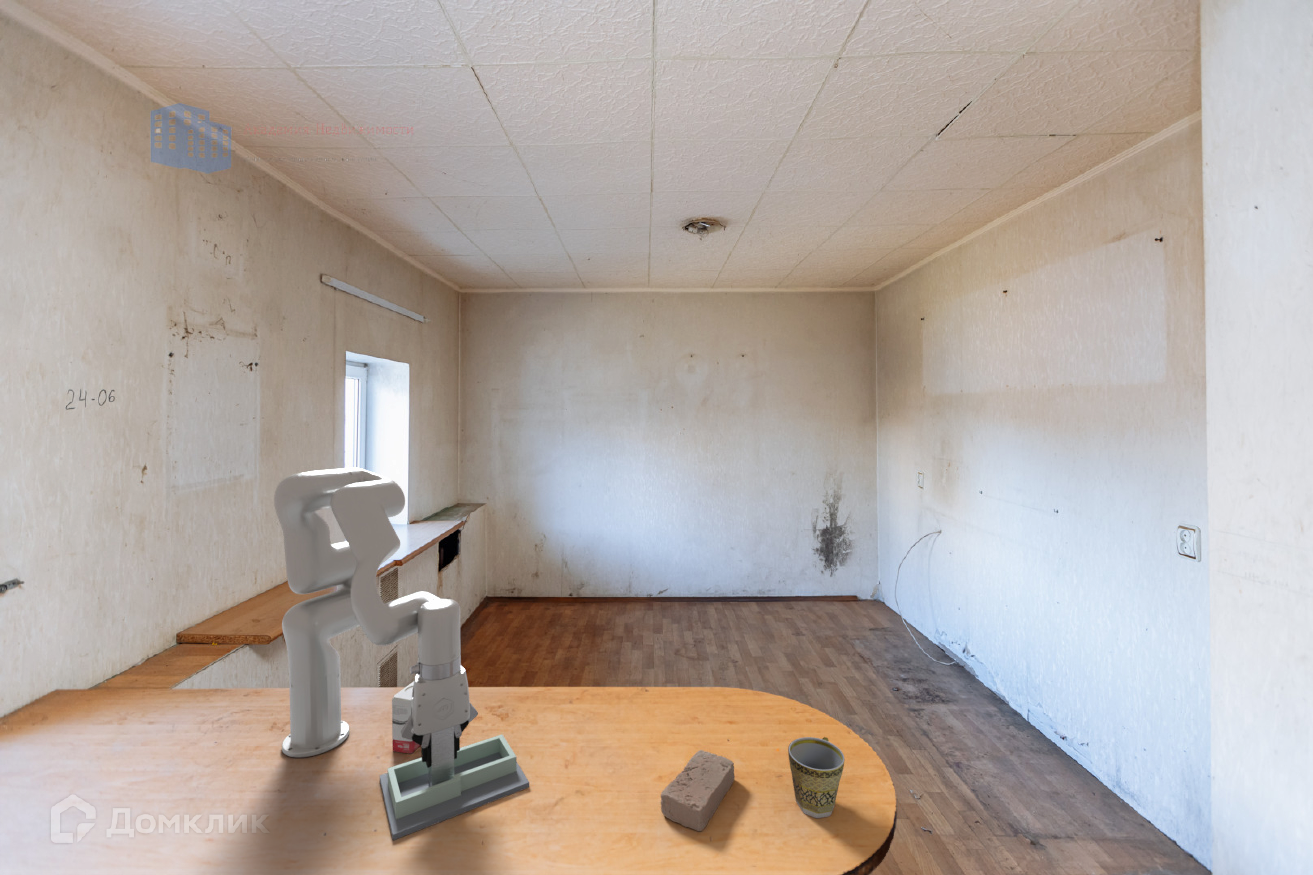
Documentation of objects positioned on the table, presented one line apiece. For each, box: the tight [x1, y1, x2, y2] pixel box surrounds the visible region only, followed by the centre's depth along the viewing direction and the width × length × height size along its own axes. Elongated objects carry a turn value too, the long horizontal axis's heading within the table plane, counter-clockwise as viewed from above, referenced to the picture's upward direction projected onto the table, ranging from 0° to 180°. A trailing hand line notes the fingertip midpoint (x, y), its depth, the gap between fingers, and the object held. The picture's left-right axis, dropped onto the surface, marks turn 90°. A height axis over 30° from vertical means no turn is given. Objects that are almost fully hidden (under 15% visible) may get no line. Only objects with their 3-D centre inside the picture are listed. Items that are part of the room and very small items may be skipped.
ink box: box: [391, 680, 421, 754], centre depth 119 cm, size 9×5×12 cm, turn 168°
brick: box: [660, 749, 735, 832], centre depth 102 cm, size 17×8×5 cm, turn 150°
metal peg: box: [428, 727, 454, 787], centre depth 104 cm, size 4×4×12 cm
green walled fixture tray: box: [379, 733, 530, 841], centre depth 105 cm, size 18×24×4 cm
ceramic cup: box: [787, 736, 846, 819], centre depth 101 cm, size 13×10×10 cm
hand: (440, 758), depth 104 cm, fingers closed on metal peg, 4 cm apart
